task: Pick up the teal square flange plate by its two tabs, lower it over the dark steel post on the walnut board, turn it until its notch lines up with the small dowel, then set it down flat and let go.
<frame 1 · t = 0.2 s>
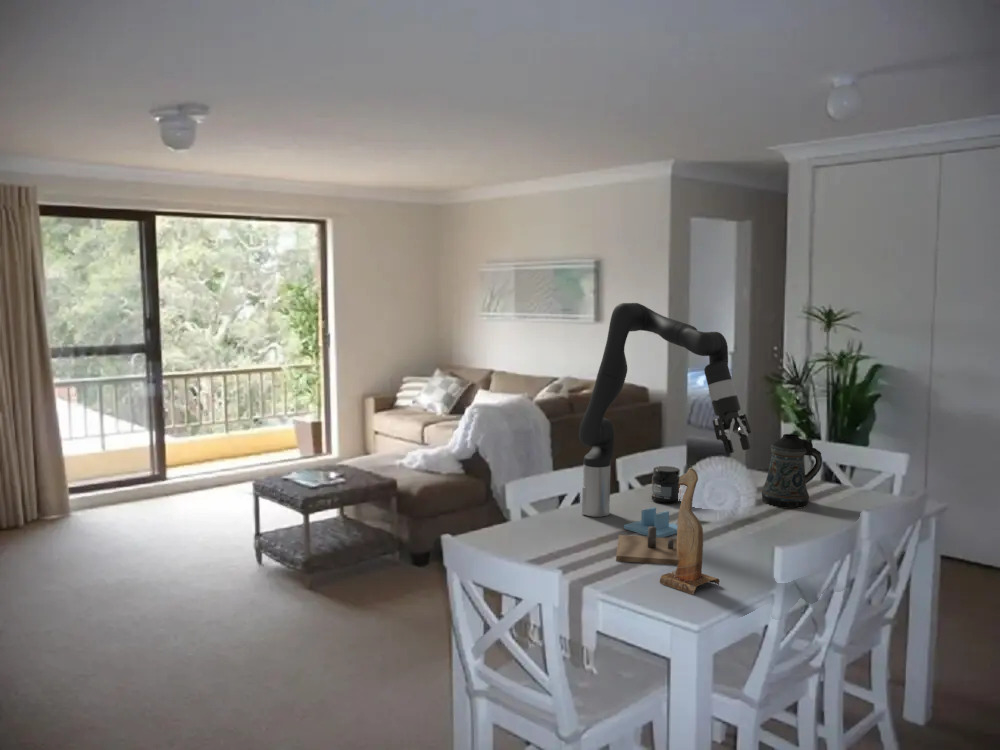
hand: (738, 451, 240), 31 cm above the table, tool tilted 20°, fingers open, 8 cm apart
flange plate: (654, 529, 268), on the table
post board: (651, 551, 245), on the table
beer stein: (788, 502, 302), on the table
bird sculpture: (689, 585, 219), on the table
supplement container: (665, 501, 303), on the table
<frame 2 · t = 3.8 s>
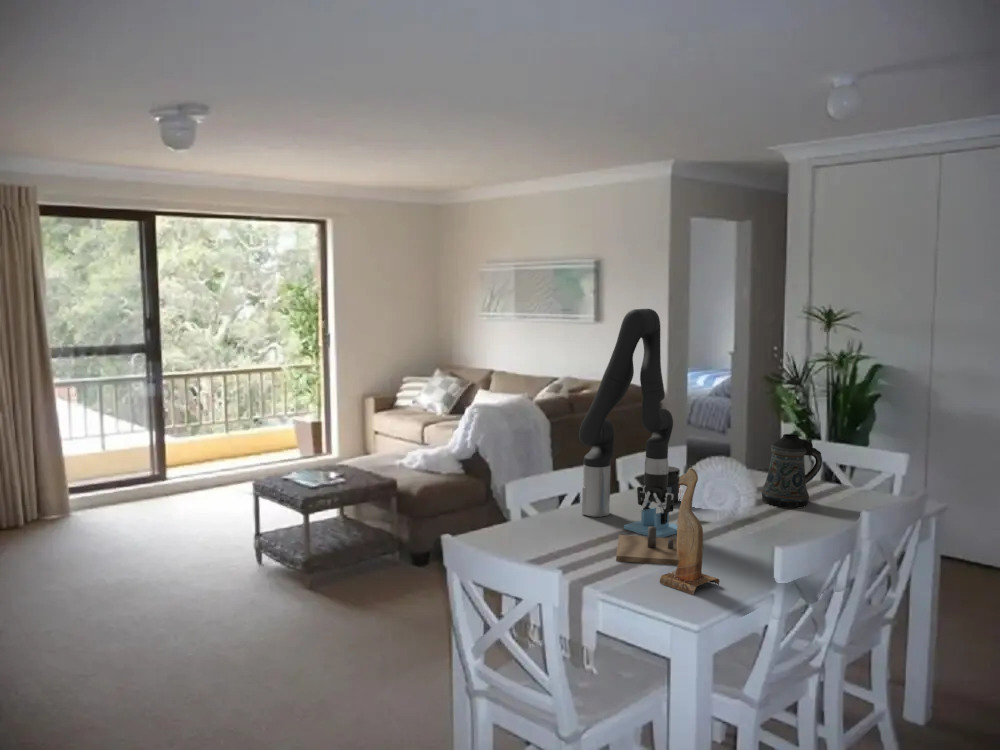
hand: (655, 521, 267), 3 cm above the table, tool pointing down, fingers closed on flange plate, 6 cm apart
flange plate: (654, 529, 268), on the table, touching gripper
everything else where it was.
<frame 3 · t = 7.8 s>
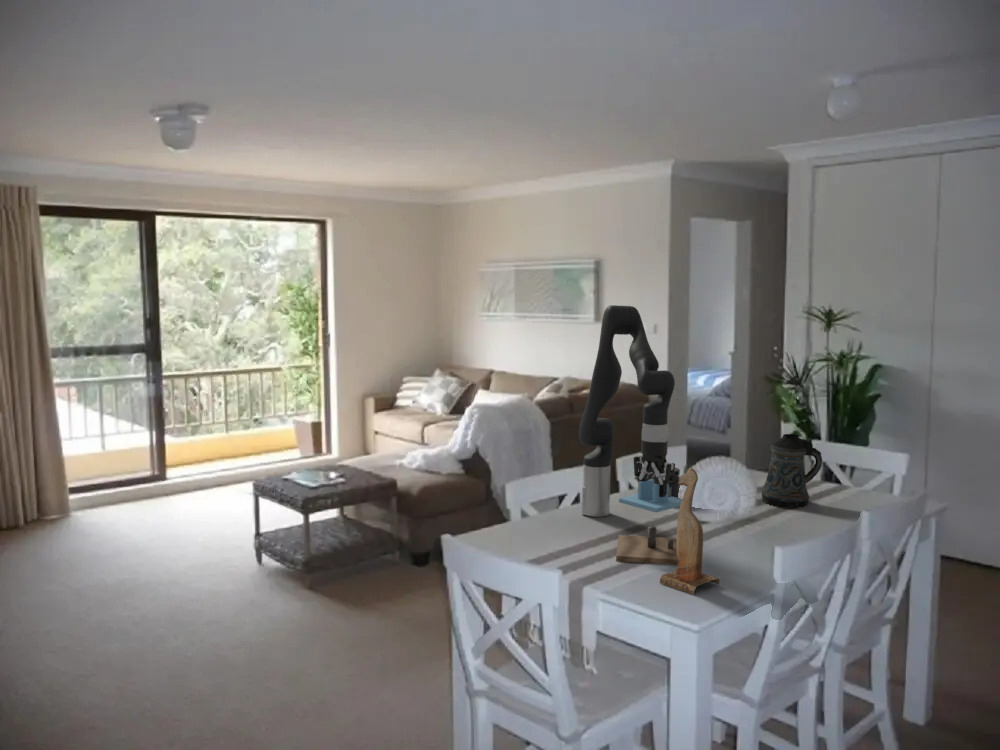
hand: (653, 494, 244), 18 cm above the table, tool pointing down, fingers closed on flange plate, 6 cm apart
flange plate: (652, 503, 244), point 15 cm above the table, touching gripper
everything else where it was.
when the fingers open (5 cm above the table, at t = 11.9 s): flange plate stays where it is, resting on post board.
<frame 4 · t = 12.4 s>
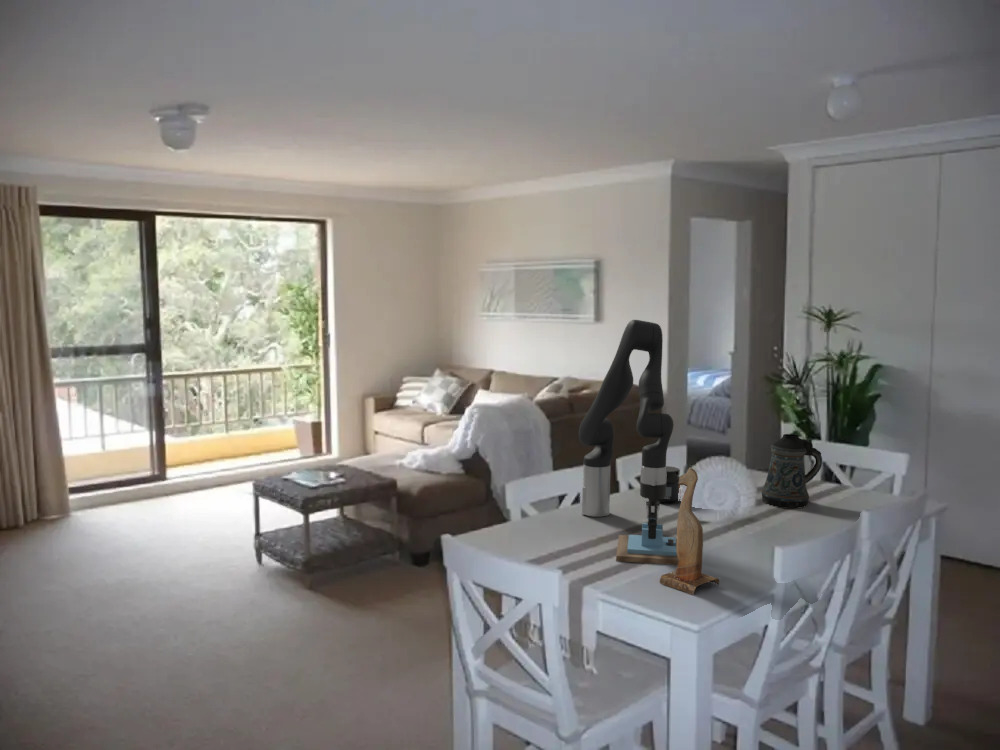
hand: (652, 534, 245), 5 cm above the table, tool pointing down, fingers open, 8 cm apart
flange plate: (651, 547, 245), point 1 cm above the table, touching post board
everything else where it was.
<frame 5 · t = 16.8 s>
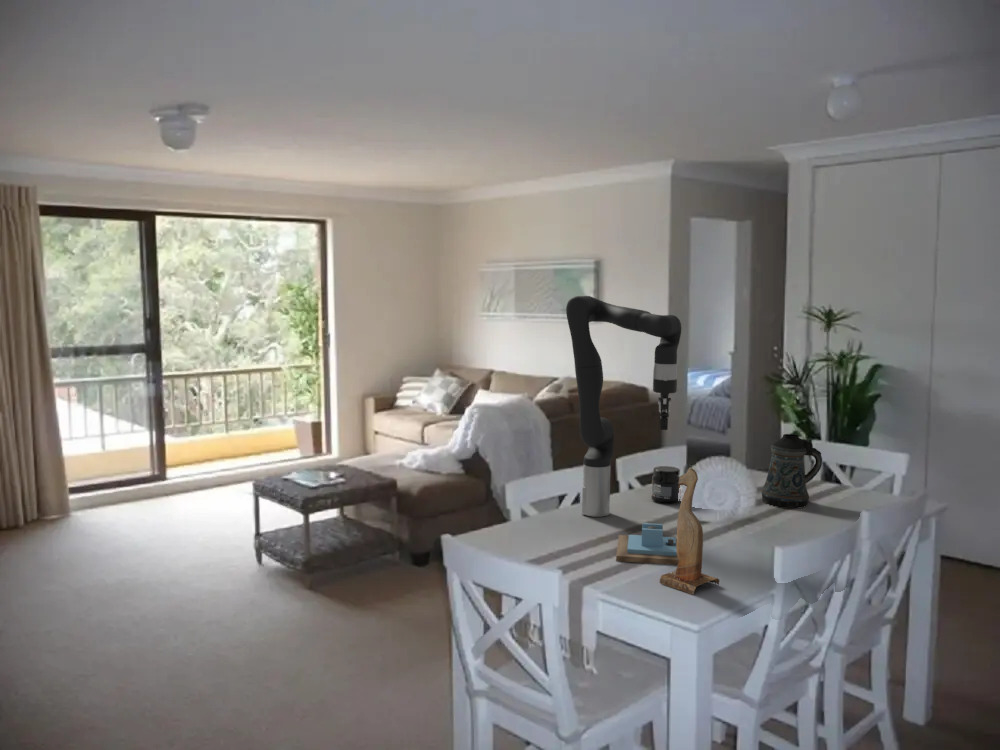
hand: (663, 427, 267), 33 cm above the table, tool pointing down, fingers open, 8 cm apart
nothing on the table moved.
at the end: flange plate 0.1 cm off-centre on the post board, point 1.5 cm above the post board's base; flange plate tilted 0°; the gripper is holding nothing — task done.
